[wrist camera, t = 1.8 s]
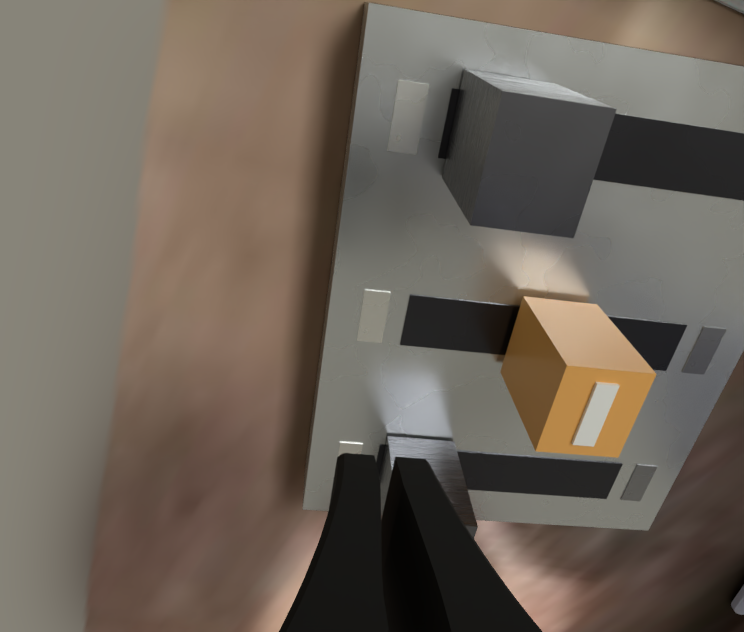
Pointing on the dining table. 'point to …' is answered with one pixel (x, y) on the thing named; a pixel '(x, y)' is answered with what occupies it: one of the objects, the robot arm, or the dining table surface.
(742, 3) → the emergency button
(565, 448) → the breaker
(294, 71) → the dining table surface
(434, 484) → the robot arm
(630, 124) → the slider control panel
